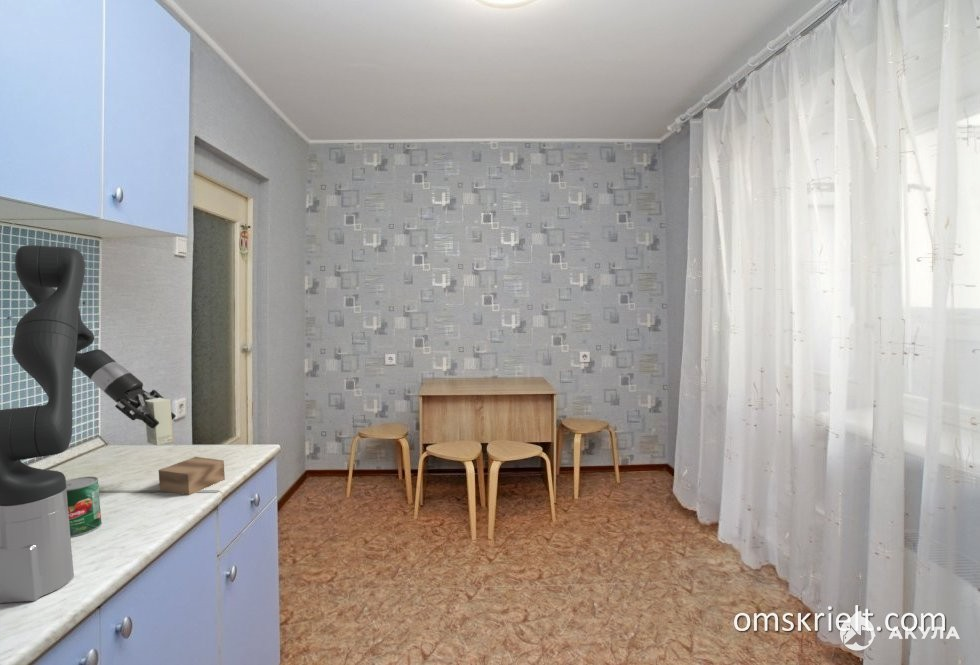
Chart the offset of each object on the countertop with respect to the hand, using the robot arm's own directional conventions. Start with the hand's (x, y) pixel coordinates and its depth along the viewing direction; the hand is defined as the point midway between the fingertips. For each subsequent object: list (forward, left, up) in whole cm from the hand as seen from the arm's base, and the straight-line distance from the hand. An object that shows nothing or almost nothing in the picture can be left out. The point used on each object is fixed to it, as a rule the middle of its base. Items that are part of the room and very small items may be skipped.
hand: (164, 422), depth 127 cm
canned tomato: (-24, +6, -19) cm, 31 cm away
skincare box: (0, +2, -6) cm, 6 cm away
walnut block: (0, -6, -19) cm, 20 cm away
